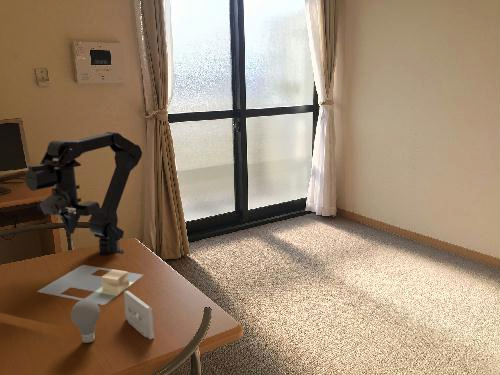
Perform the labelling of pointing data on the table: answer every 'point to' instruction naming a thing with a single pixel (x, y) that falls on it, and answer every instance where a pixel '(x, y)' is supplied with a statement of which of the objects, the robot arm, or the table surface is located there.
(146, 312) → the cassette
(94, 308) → the light bulb
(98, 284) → the board
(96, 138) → the robot arm
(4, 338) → the table surface
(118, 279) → the maple block
